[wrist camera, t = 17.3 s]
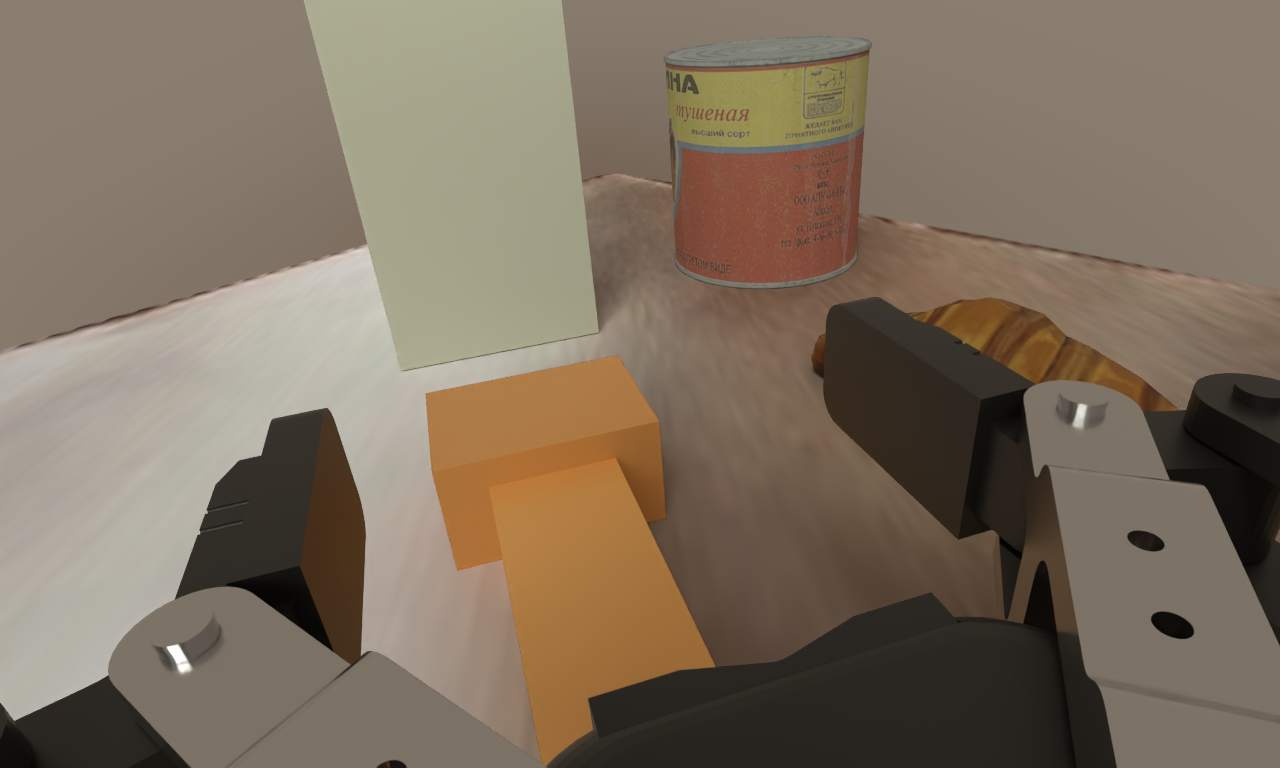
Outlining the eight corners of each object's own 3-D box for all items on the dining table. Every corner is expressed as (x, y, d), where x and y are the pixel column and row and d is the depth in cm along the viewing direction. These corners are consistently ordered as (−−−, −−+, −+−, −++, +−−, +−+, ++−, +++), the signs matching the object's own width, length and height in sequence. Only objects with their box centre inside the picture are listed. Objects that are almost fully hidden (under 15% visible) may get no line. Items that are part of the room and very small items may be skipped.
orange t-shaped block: (947, 1063, 12) (982, 942, 10) (533, 1252, 11) (485, 1151, 9) (627, 445, 29) (618, 355, 27) (448, 485, 28) (425, 393, 26)
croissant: (1182, 419, 28) (1221, 297, 26) (1157, 516, 24) (1202, 379, 21) (846, 344, 36) (852, 245, 33) (779, 406, 31) (780, 297, 29)
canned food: (686, 229, 53) (678, 44, 47) (851, 226, 50) (863, 32, 45) (662, 289, 43) (647, 66, 37) (863, 288, 41) (881, 52, 35)
